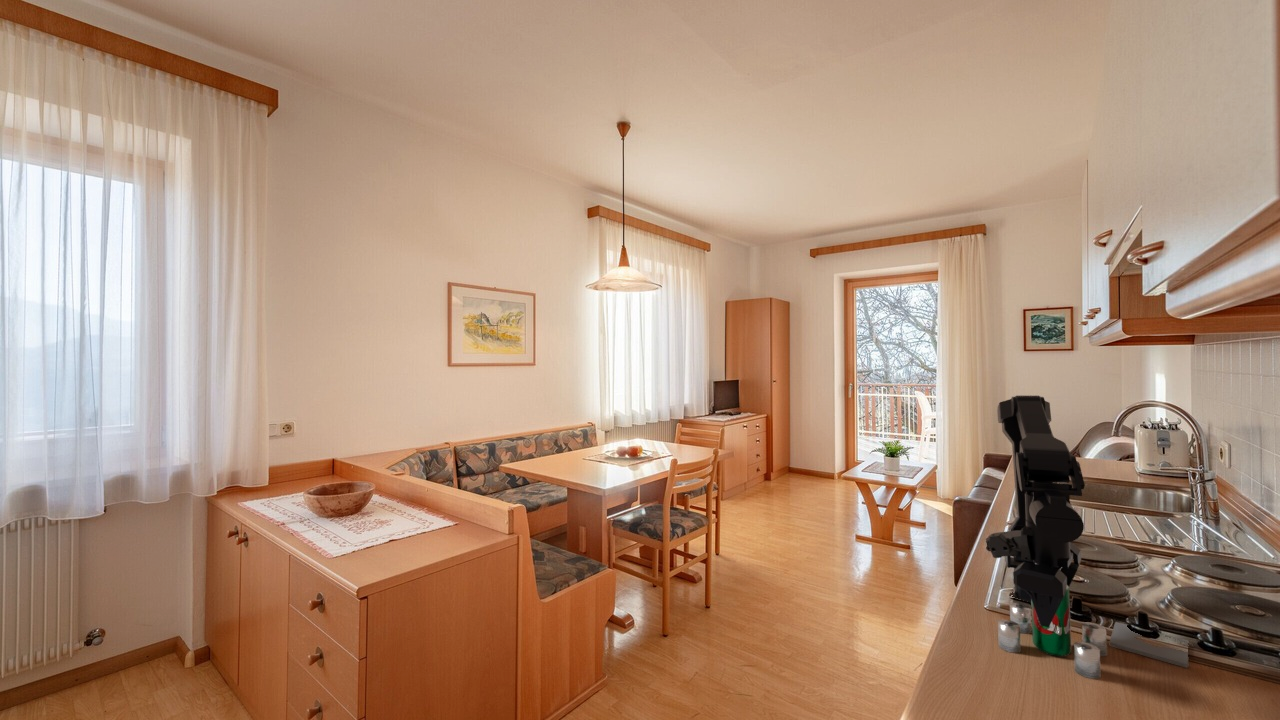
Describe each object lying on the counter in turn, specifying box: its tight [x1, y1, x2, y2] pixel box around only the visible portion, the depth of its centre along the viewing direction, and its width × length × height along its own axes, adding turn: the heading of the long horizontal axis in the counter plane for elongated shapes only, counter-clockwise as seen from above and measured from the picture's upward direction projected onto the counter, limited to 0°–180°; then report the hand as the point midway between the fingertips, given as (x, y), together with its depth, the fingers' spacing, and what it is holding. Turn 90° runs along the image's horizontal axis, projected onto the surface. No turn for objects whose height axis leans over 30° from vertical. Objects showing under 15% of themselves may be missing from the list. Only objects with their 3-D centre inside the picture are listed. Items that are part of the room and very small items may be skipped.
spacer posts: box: [997, 602, 1108, 680], centre depth 86 cm, size 11×13×4 cm
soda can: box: [1030, 585, 1072, 657], centre depth 86 cm, size 5×5×12 cm
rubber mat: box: [1108, 621, 1190, 669], centre depth 86 cm, size 9×9×1 cm
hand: (1050, 615), depth 86 cm, fingers open, 9 cm apart
